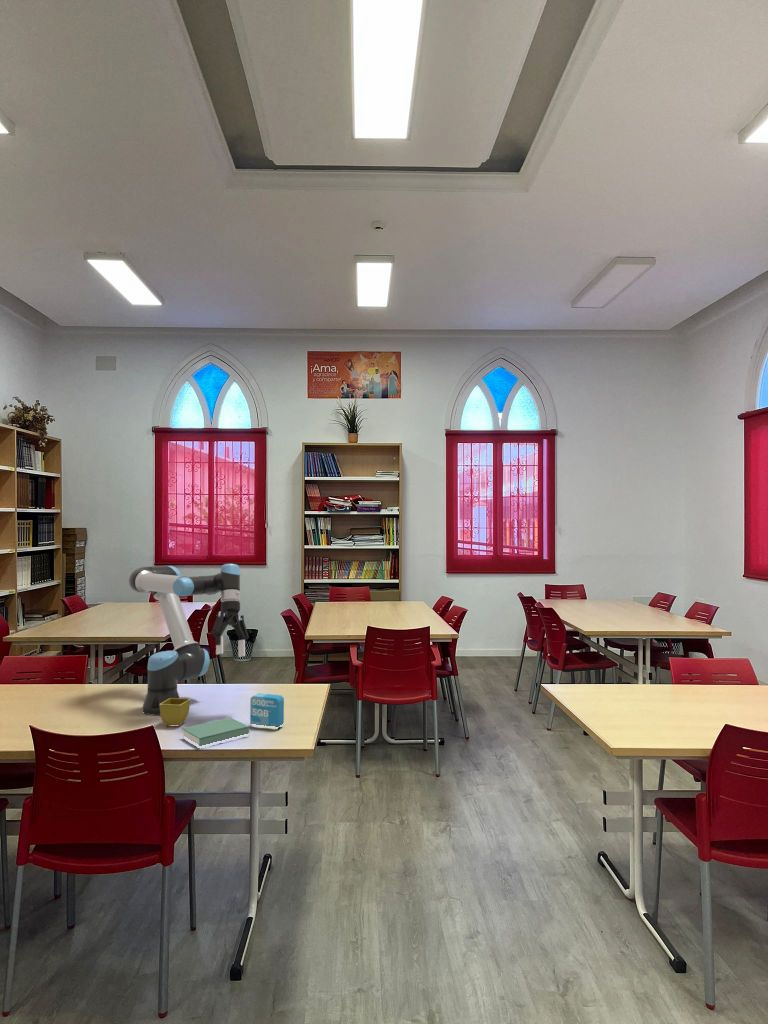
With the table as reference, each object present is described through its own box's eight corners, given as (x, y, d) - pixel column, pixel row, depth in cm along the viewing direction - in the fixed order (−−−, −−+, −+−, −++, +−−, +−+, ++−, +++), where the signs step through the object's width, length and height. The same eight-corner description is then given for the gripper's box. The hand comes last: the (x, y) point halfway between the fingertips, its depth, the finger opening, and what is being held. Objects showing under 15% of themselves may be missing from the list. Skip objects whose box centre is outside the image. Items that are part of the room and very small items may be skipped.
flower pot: (158, 727, 229) (158, 703, 229) (169, 720, 238) (169, 697, 238) (180, 729, 228) (180, 704, 228) (190, 721, 237) (190, 698, 237)
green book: (182, 739, 217) (182, 728, 217) (230, 728, 230) (230, 717, 230) (199, 750, 207) (199, 738, 207) (249, 737, 220) (249, 726, 220)
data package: (249, 727, 230) (250, 695, 230) (255, 723, 234) (256, 692, 235) (278, 730, 226) (278, 698, 227) (283, 727, 231) (284, 695, 231)
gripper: (217, 595, 233) (217, 651, 226) (256, 604, 254) (257, 656, 247) (202, 598, 236) (201, 654, 228) (242, 607, 257) (242, 658, 250)
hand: (230, 655), depth 238 cm, fingers open, 13 cm apart
